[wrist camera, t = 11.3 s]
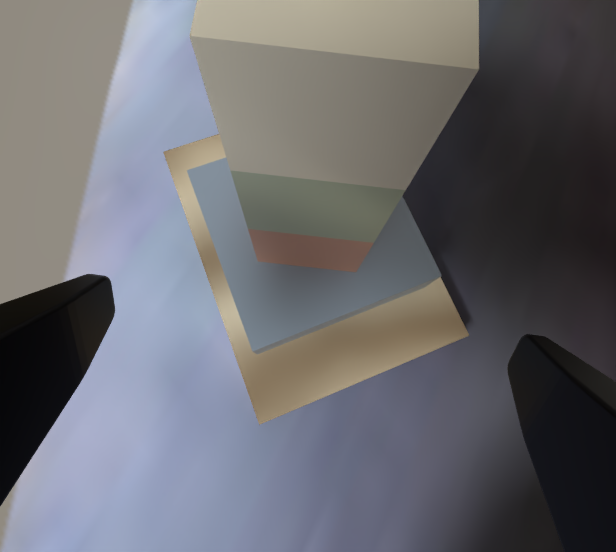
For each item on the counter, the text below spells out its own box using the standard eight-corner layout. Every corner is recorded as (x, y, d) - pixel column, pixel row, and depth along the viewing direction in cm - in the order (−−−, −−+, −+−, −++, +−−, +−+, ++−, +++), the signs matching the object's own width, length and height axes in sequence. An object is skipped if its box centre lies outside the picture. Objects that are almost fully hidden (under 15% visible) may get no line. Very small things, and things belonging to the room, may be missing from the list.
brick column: (356, 272, 18) (506, 23, 5) (257, 261, 18) (173, -16, 5) (362, 183, 19) (500, -198, 6) (270, 172, 19) (226, -232, 6)
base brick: (424, 287, 20) (441, 275, 18) (257, 354, 19) (252, 351, 17) (353, 140, 22) (361, 112, 20) (198, 193, 21) (186, 170, 19)
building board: (459, 337, 21) (469, 335, 20) (261, 421, 19) (259, 424, 18) (346, 105, 24) (349, 91, 23) (170, 163, 23) (163, 151, 21)
